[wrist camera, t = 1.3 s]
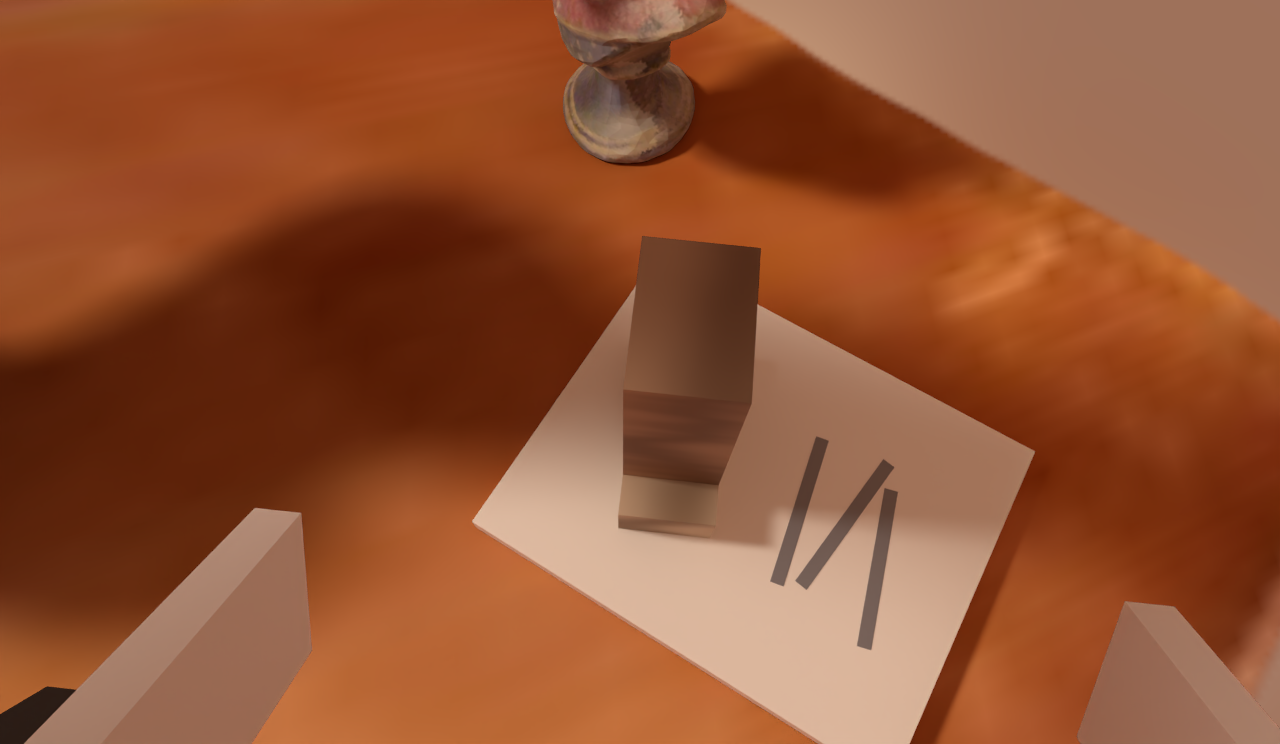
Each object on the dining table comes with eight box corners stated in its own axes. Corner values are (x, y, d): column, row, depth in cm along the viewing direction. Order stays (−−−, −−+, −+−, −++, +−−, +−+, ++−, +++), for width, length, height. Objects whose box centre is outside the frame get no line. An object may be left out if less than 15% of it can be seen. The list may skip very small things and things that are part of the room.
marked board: (476, 527, 37) (471, 521, 36) (658, 264, 43) (658, 252, 41) (882, 784, 33) (891, 786, 32) (1023, 459, 39) (1035, 451, 38)
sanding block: (618, 528, 36) (616, 441, 25) (640, 342, 39) (647, 194, 28) (709, 538, 36) (748, 455, 25) (723, 351, 39) (763, 205, 28)
